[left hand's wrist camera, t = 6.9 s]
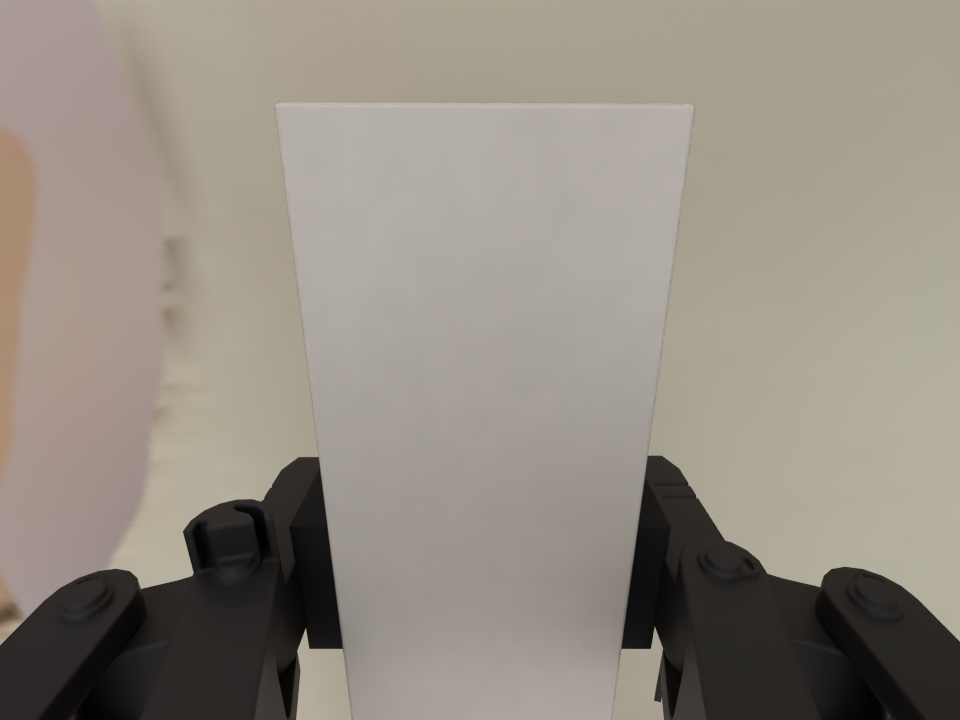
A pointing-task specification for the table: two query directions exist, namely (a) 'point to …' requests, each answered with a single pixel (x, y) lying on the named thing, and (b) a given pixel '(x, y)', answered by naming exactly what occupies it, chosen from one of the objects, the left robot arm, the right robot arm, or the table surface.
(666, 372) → the table surface
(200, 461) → the table surface
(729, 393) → the table surface
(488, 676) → the bar
